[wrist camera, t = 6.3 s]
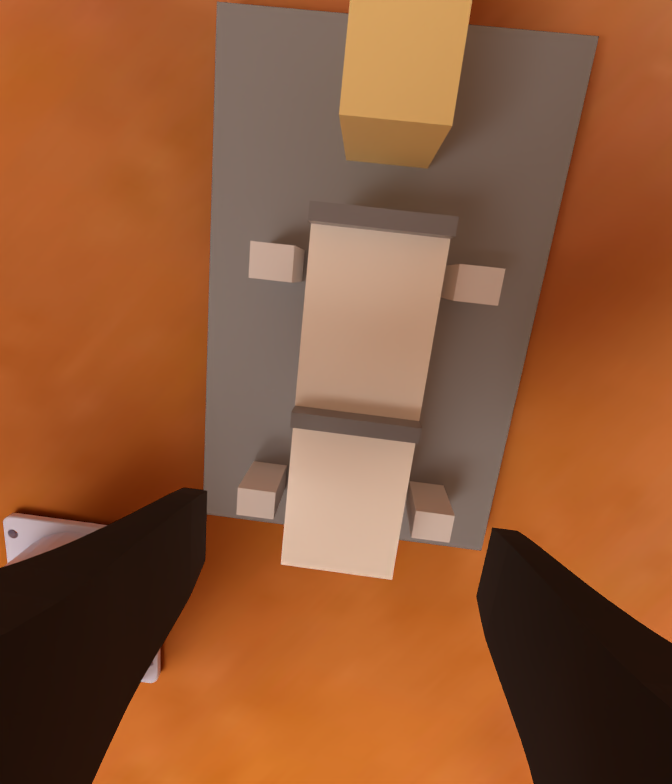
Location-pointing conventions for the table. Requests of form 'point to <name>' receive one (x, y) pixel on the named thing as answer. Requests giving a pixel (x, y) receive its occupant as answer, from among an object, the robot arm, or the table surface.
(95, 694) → the robot arm
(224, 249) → the jig
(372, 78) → the tan rectangular block
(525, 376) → the table surface
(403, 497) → the cream rectangular block
